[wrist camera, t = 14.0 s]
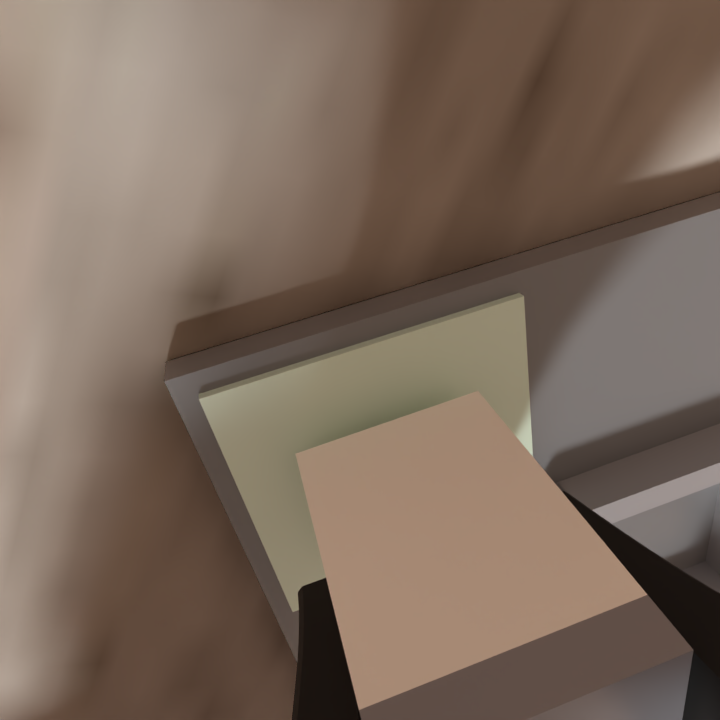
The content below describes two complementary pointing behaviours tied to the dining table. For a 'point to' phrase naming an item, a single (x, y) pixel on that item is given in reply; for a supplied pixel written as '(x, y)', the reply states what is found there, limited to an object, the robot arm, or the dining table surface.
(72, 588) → the dining table surface
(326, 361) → the socket board
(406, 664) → the plug
